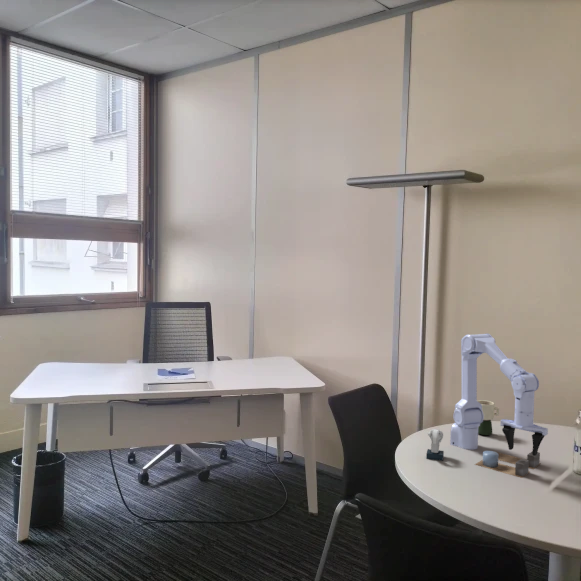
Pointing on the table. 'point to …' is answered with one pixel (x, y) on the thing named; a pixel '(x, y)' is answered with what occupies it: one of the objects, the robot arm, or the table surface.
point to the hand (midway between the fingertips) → (522, 451)
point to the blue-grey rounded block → (490, 459)
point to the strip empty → (533, 460)
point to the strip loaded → (511, 468)
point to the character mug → (487, 417)
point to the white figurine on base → (435, 445)
